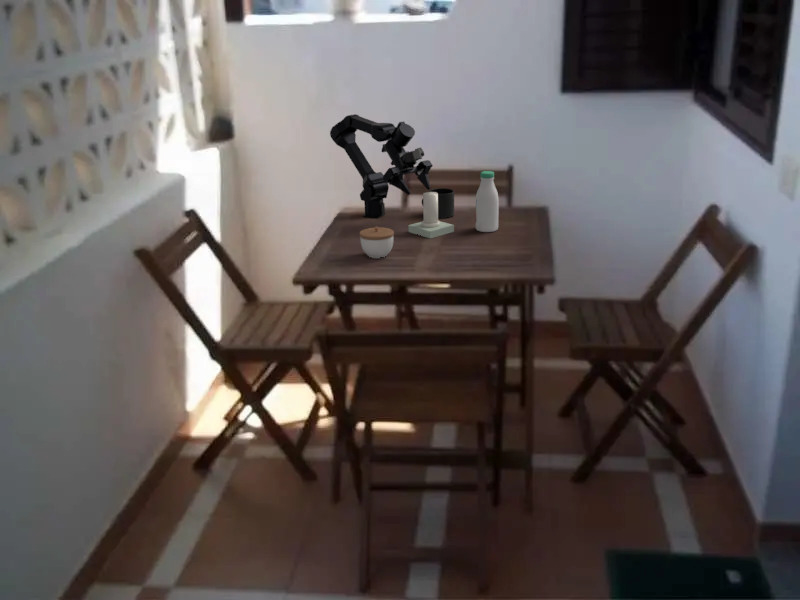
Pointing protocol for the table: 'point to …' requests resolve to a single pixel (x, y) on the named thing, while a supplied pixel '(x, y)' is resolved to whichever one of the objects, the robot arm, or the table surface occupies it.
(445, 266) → the table surface
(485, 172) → the milk bottle
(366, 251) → the lidded jar
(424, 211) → the white rounded piece
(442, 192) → the mug
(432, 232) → the block
